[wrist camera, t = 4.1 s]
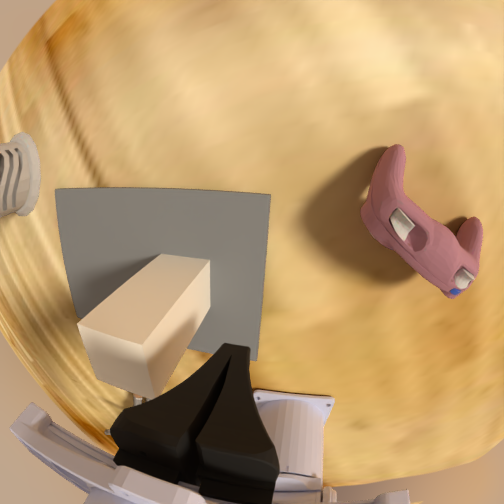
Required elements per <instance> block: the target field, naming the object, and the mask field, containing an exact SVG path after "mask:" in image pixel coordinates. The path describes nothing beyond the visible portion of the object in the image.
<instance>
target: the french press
mask: <svg viewBox="0 0 504 504" xmlns="http://www.w3.org/2000/svg"><path fill="white" fill-rule="evenodd" d="M40 182H41V175H40V160H39V156H38V151H37V147H36V145H35V143H34V141H33V140H32V138H31V136H30V135H28V134H26V133H24V132H21V133H18V134H16V135H14V137H13V138H12V139H11V141H10V142H9V143H3V144H0V217H3V216H5V215H8V214H10V213H13V212H15V213H16V214H18V215H19V216H27V215H28V214H29V213H30V212H31V211H33V210H34V207H35V204H36V202H37V199H38V197H39V189H40Z"/></svg>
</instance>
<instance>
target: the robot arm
mask: <svg viewBox="0 0 504 504" xmlns="http://www.w3.org/2000/svg"><path fill="white" fill-rule="evenodd" d="M250 352H251V349H250V347H248V346H242V345H235V344H230V343H223V344H222V345H221V347H220V348H219V349H218V350H217V351H216V352H215V353H214V355H213V356H212V357H211V358H210V359H209V360H208V361H207V362H206V363H205V364H204V365H203V366H202V367H200V368H199V369H198V370H197V371H196V372H195V373H193V374H192V375H191V376H190V377H189V378H187V379H186V380H185V381H183V382H182V383H180V384H179V385H177V386H176V387H174V388H173V389H171V390H169V391H168V392H166V393H164V394H162V395H160V396H158V397H156V398H154V399H152V400H149V401H147V402H145V403H142V404H139V405H136V406H133V407H130V408H126V409H124V410H123V411H122V412H121V414H120V415H119V416H118V417H117V419H116V420H115V422H114V423H113V425H112V427H111V428H110V434H111V436H112V438H113V439H114V441H115V443H116V444H117V446H118V447H119V450H118V452H117V453H116V455H115V456H113V455H111V454H109V453H107V452H105V451H103V450H101V449H99V448H97V447H95V446H93V445H91V444H89V443H88V442H86V441H84V440H82V439H80V438H79V437H77V436H75V435H74V434H72V433H70V432H69V431H67V430H65V429H64V428H62V427H60V426H59V425H58V424H56V423H54V422H53V421H52V419H51V418H50V416H49V415H48V414H47V413H46V412H45V411H44V410H43V409H41V408H40V407H38V406H37V405H35V404H34V403H33V402H31V403H30V404H29V405H28V407H27V408H26V409H25V410H24V411H23V412H22V413H21V415H20V416H19V417H18V418H17V419H16V421H15V422H14V423H13V424H12V425H11V427H10V430H11V431H12V432H13V434H14V435H15V436H16V437H17V438H18V439H19V440H20V442H22V444H23V445H24V446H25V447H26V448H27V449H28V450H29V451H30V452H31V453H32V454H33V455H35V456H36V457H37V458H38V459H40V460H41V461H42V462H43V463H45V464H46V465H47V466H49V467H50V468H51V469H53V470H54V471H55V472H57V473H58V474H59V475H61V476H62V477H64V478H65V479H66V480H68V481H69V482H71V483H73V484H74V485H75V486H77V487H78V488H80V489H81V490H83V491H85V492H86V493H88V494H89V495H88V497H87V499H86V501H85V502H84V504H410V500H409V492H408V490H407V489H406V490H399V491H393V492H387V493H383V494H380V495H379V496H377V497H376V498H375V499H371V500H361V501H348V502H337V501H336V500H337V492H336V491H335V490H334V489H332V487H331V486H327V487H324V493H323V481H322V476H323V427H324V425H325V423H326V421H327V418H328V416H329V414H330V412H331V409H332V407H333V405H334V402H335V399H334V398H333V397H327V396H312V395H300V394H290V393H281V392H273V391H265V390H255V391H254V393H253V392H252V387H251V381H250V373H249V365H250ZM200 484H201V485H200Z"/></svg>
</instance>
